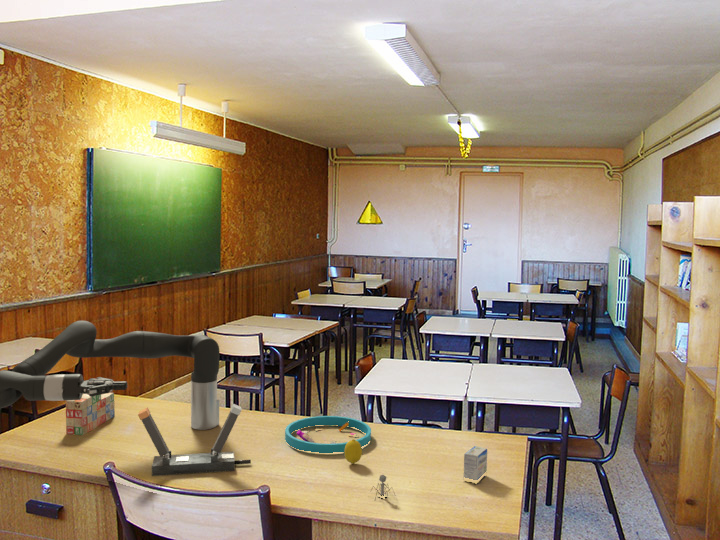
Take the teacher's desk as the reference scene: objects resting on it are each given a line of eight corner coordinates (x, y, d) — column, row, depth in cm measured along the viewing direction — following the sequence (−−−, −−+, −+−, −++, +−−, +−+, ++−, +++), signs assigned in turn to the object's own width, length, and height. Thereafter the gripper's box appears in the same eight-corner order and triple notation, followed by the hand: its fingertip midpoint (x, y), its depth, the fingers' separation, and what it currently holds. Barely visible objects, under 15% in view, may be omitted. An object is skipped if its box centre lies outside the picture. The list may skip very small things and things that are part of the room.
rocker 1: (163, 464, 188) (137, 415, 185) (164, 458, 192) (139, 410, 189) (171, 459, 188) (146, 411, 185) (172, 454, 192) (148, 406, 190)
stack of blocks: (99, 415, 240) (99, 383, 239) (114, 416, 239) (114, 384, 238) (65, 434, 219) (65, 400, 218) (82, 435, 218) (82, 401, 217)
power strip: (151, 476, 186) (151, 460, 185) (154, 465, 193) (154, 450, 193) (251, 469, 192) (251, 454, 192) (250, 459, 200) (250, 445, 199)
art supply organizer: (267, 439, 219) (267, 423, 219) (328, 420, 241) (329, 405, 241) (327, 464, 199) (327, 445, 198) (388, 440, 221) (389, 424, 220)
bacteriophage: (363, 499, 174) (364, 476, 173) (379, 489, 180) (380, 466, 180) (385, 506, 170) (385, 482, 169) (400, 496, 176) (401, 473, 176)
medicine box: (477, 485, 184) (478, 456, 184) (462, 481, 187) (464, 453, 186) (486, 476, 191) (487, 448, 190) (473, 472, 193) (474, 445, 193)
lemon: (363, 462, 200) (364, 437, 199) (358, 468, 195) (358, 443, 194) (347, 459, 202) (348, 435, 201) (341, 466, 196) (342, 441, 196)
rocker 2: (209, 457, 191) (233, 407, 191) (209, 452, 195) (233, 403, 195) (217, 460, 191) (241, 410, 192) (217, 455, 196) (241, 406, 196)
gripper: (69, 393, 189) (130, 392, 192) (58, 406, 176) (123, 404, 179) (69, 369, 188) (130, 367, 192) (57, 380, 175) (123, 378, 179)
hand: (126, 385), depth 186 cm, fingers closed
